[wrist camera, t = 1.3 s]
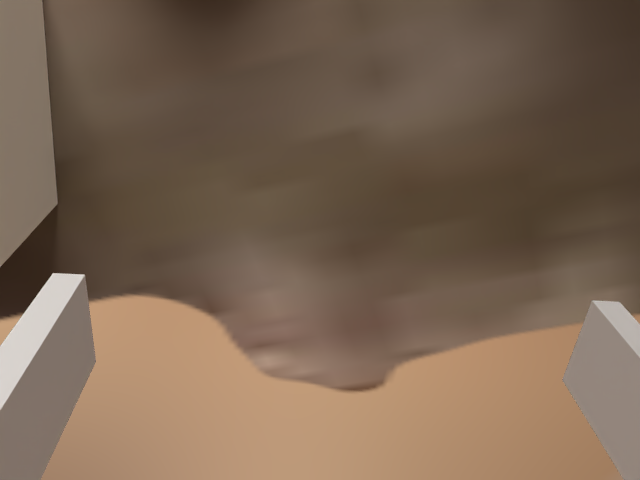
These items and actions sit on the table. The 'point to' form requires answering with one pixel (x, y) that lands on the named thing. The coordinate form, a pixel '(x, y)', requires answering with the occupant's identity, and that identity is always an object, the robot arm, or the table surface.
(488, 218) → the table surface
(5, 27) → the coin box
